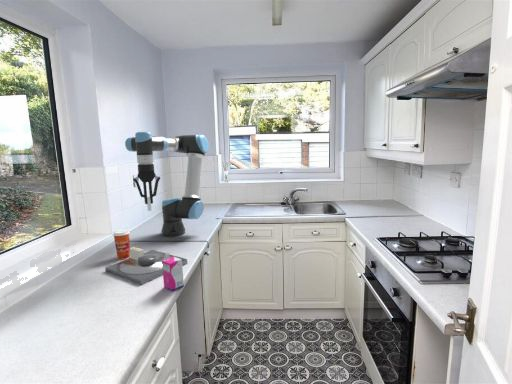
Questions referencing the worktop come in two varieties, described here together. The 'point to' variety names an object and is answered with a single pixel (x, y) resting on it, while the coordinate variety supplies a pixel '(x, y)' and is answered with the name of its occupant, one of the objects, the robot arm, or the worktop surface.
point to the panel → (141, 268)
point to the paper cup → (122, 243)
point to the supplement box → (172, 273)
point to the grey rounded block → (142, 257)
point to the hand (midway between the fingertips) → (149, 210)
